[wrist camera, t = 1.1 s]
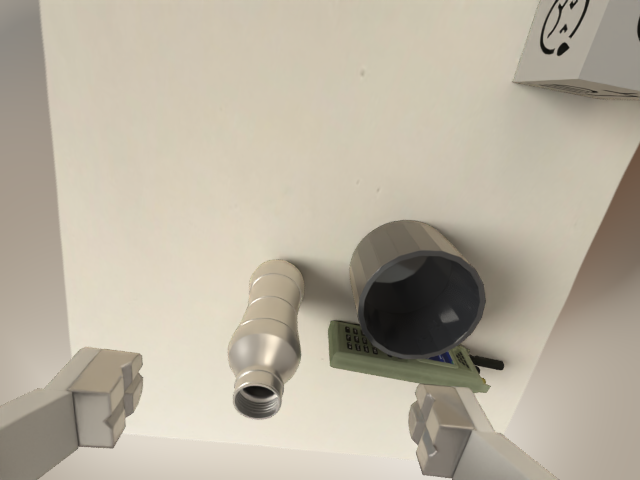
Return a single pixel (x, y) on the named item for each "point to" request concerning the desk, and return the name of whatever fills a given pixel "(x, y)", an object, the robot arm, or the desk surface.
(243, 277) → the desk surface
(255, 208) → the desk surface
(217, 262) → the desk surface
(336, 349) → the handheld radio
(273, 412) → the metal bottle
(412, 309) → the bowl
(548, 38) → the icon cube
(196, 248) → the desk surface
